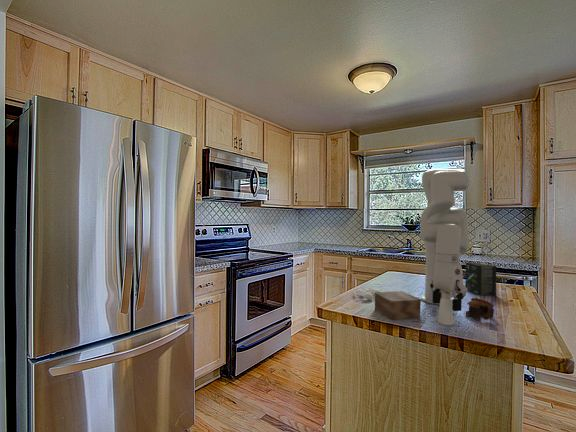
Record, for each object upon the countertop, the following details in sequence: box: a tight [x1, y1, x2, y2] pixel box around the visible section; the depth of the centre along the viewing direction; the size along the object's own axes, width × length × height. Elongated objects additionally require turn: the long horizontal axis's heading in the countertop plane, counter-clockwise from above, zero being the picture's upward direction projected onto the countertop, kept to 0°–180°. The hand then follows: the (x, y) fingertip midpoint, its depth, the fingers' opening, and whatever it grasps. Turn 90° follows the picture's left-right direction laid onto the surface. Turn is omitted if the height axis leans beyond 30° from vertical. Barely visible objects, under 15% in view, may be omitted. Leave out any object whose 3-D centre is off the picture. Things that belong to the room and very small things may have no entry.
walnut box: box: [374, 290, 422, 321], centre depth 119 cm, size 12×12×7 cm
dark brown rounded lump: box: [465, 297, 495, 322], centre depth 116 cm, size 12×10×8 cm
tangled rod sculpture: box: [353, 287, 383, 301], centre depth 145 cm, size 19×14×4 cm
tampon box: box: [464, 261, 497, 296], centre depth 155 cm, size 11×9×15 cm
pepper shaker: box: [437, 291, 455, 326], centre depth 110 cm, size 5×5×11 cm
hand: (446, 306), depth 110 cm, fingers open, 9 cm apart
